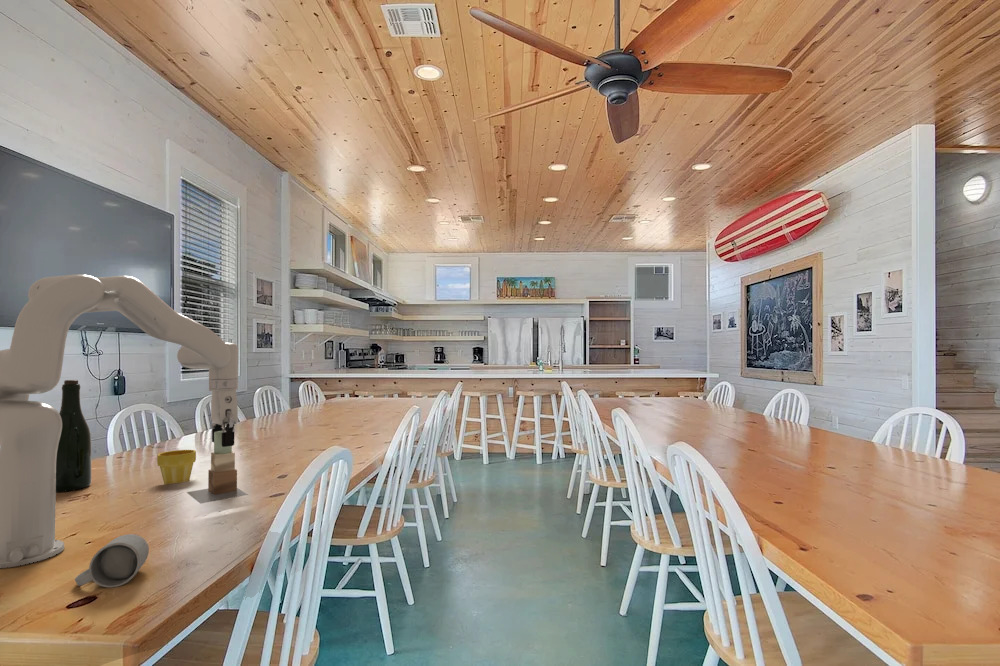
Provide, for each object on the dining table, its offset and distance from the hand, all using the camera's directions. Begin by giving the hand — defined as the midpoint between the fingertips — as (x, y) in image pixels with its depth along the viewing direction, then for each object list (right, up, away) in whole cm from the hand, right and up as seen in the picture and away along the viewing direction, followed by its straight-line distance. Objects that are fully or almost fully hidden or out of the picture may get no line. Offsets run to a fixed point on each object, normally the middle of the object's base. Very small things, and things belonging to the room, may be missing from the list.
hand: (222, 443), depth 153 cm
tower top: (0, -7, 0) cm, 7 cm away
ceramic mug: (+10, -13, -57) cm, 59 cm away
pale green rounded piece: (0, -2, 0) cm, 2 cm away
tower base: (0, -13, 0) cm, 13 cm away
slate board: (0, -14, -3) cm, 15 cm away
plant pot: (-21, -15, +12) cm, 28 cm away
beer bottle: (-51, -15, +7) cm, 53 cm away
